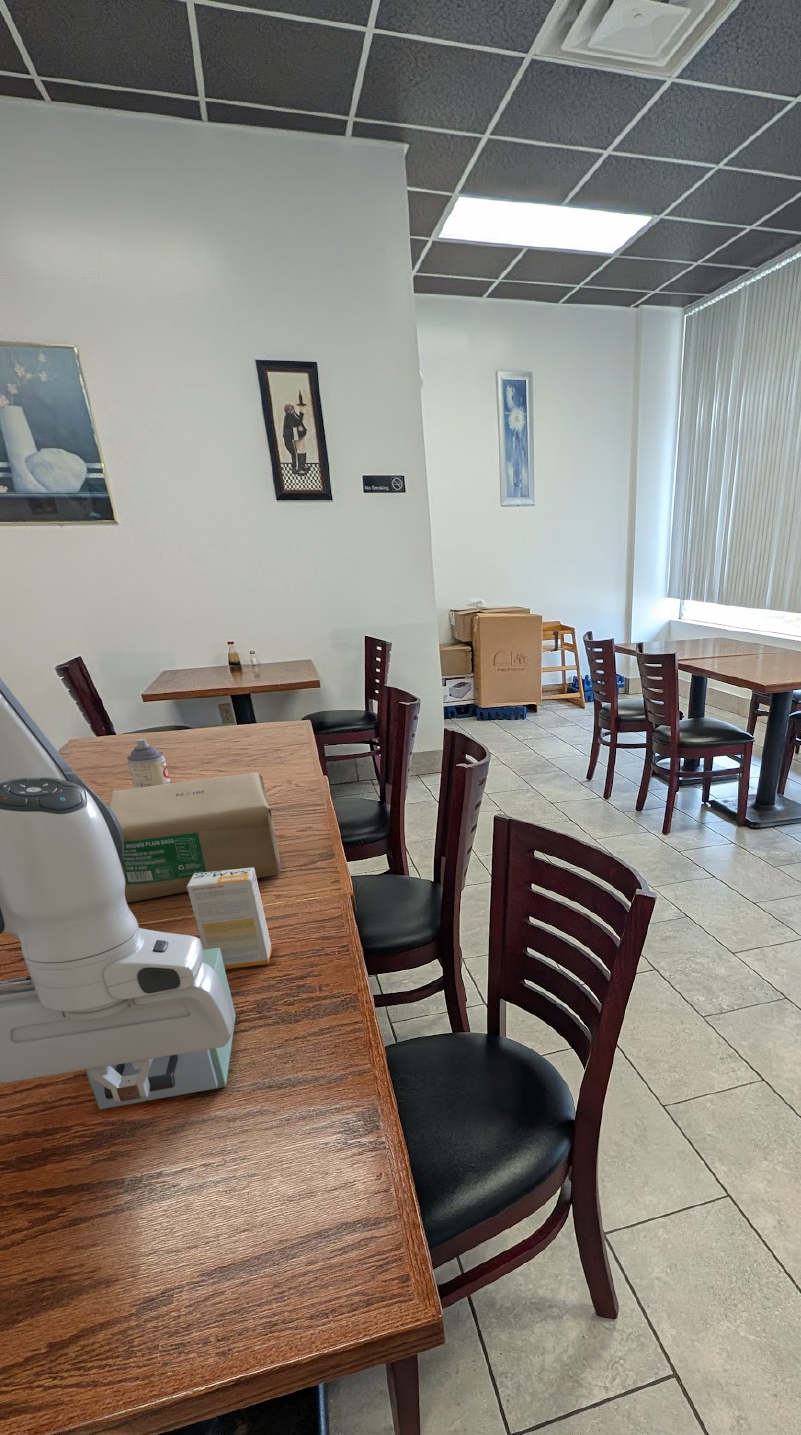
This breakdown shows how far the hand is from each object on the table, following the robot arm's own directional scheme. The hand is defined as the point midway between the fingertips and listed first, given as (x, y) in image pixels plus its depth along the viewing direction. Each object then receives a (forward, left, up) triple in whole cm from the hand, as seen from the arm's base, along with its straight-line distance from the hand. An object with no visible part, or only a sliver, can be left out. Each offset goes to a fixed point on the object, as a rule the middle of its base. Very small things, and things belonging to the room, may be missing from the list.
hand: (133, 1095), depth 71 cm
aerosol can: (-13, +98, -6) cm, 99 cm away
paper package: (-3, +76, -6) cm, 77 cm away
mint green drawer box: (0, +14, -6) cm, 15 cm away
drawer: (0, +10, -5) cm, 11 cm away
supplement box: (+6, +36, -6) cm, 37 cm away
